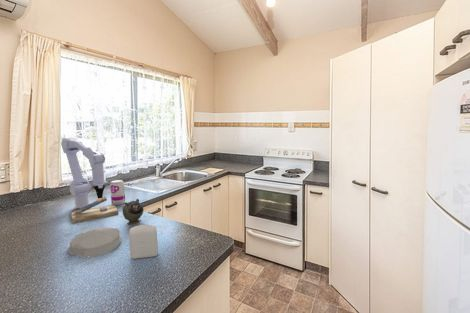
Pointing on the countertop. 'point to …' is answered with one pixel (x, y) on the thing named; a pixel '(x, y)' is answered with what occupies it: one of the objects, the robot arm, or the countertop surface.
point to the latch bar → (92, 204)
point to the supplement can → (117, 192)
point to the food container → (95, 242)
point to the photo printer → (143, 241)
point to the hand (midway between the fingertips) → (100, 197)
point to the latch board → (93, 213)
